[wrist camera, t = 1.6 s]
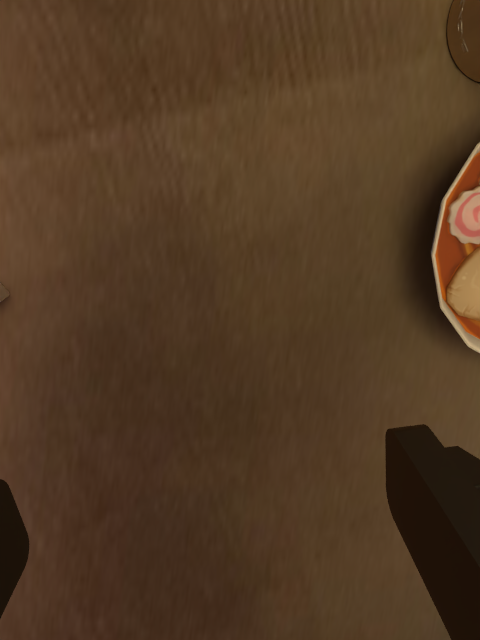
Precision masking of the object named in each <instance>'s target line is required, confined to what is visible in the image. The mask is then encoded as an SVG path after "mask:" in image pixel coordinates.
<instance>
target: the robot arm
mask: <svg viewBox="0 0 480 640" xmlns="http://www.w3.org/2000/svg"><path fill="white" fill-rule="evenodd" d="M447 38H448V46H449V49H450V52H451V55H452V58H453V59H454V61H455V63H456V65H457V66H458V68H459V69H460V70H461V71H462V72H463V73H464V74H465V75H466V76H468V77H469V78H471V79H473V80H474V81H477V82H480V0H454V1H453V3H452V6H451V9H450V13H449V17H448V24H447ZM386 492H387V498H388V503H389V507H390V510H391V513H392V516H393V519H394V521H395V523H396V525H397V527H398V529H399V532H400V534H401V536H402V538H403V540H404V542H405V544H406V546H407V548H408V550H409V552H410V554H411V556H412V559H413V561H414V563H415V565H416V567H417V569H418V571H419V573H420V575H421V577H422V579H423V581H424V583H425V586H426V588H427V590H428V592H429V594H430V596H431V598H432V600H433V602H434V604H435V606H436V608H437V610H438V613H439V615H440V617H441V619H442V621H443V623H444V625H445V627H446V629H447V631H448V633H449V635H450V638H451V640H480V460H479V459H478V458H476V457H475V456H473V455H471V454H470V453H468V452H466V451H465V450H463V449H462V448H460V447H458V446H454V447H446V448H444V446H443V445H442V444H441V442H440V441H439V440H438V439H437V437H436V436H435V435H434V433H433V432H432V431H431V430H430V428H429V427H428V426H426V425H424V424H422V425H415V426H407V427H399V428H392V429H388V430H387V432H386ZM28 554H29V538H28V534H27V531H26V528H25V526H24V523H23V521H22V518H21V516H20V513H19V510H18V508H17V505H16V503H15V500H14V498H13V495H12V493H11V490H10V488H9V486H8V484H7V483H6V482H5V481H4V480H1V479H0V618H1V616H2V614H3V612H4V610H5V608H6V605H7V603H8V601H9V599H10V597H11V595H12V593H13V591H14V589H15V587H16V585H17V583H18V581H19V579H20V576H21V574H22V572H23V570H24V568H25V566H26V563H27V559H28Z"/></svg>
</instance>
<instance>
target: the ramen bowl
mask: <svg viewBox="0 0 480 640" xmlns="http://www.w3.org/2000/svg"><path fill="white" fill-rule="evenodd" d="M431 258H432V264H433V270H434V276H435V282H436V288H437V294H438V300H439V304H440V308H441V310H442V311H443V313H444V314H445V315H446V317H447V318H448V320H449V321H450V322H451V324H452V325H453V327H454V328H455V329H456V331H457V332H458V334H459V335H460V336H461V338H462V339H463V341H464V342H465V343H466V345H467V346H468V347H469V348H471V349H473V350H475V351H476V352H478V353H480V142H479V143H478V144H477V145H476V147H475V148H474V150H473V151H472V153H471V154H470V156H469V157H468V159H467V161H466V162H465V164H464V165H463V167H462V169H461V170H460V172H459V173H458V175H457V177H456V178H455V180H454V181H453V183H452V185H451V186H450V188H449V189H448V191H447V193H446V194H445V196H444V197H443V199H442V201H441V204H440V209H439V214H438V219H437V224H436V229H435V234H434V239H433V244H432V249H431Z"/></svg>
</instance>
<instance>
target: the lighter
mask: <svg viewBox="0 0 480 640" xmlns="http://www.w3.org/2000/svg"><path fill="white" fill-rule="evenodd" d="M9 295H10V293H9V292H8V291H7V289H6V288H5V287H4V286H3V285H2V284H1V282H0V302H1V301H2V300H4V299H5V298H7V297H8V296H9Z"/></svg>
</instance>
